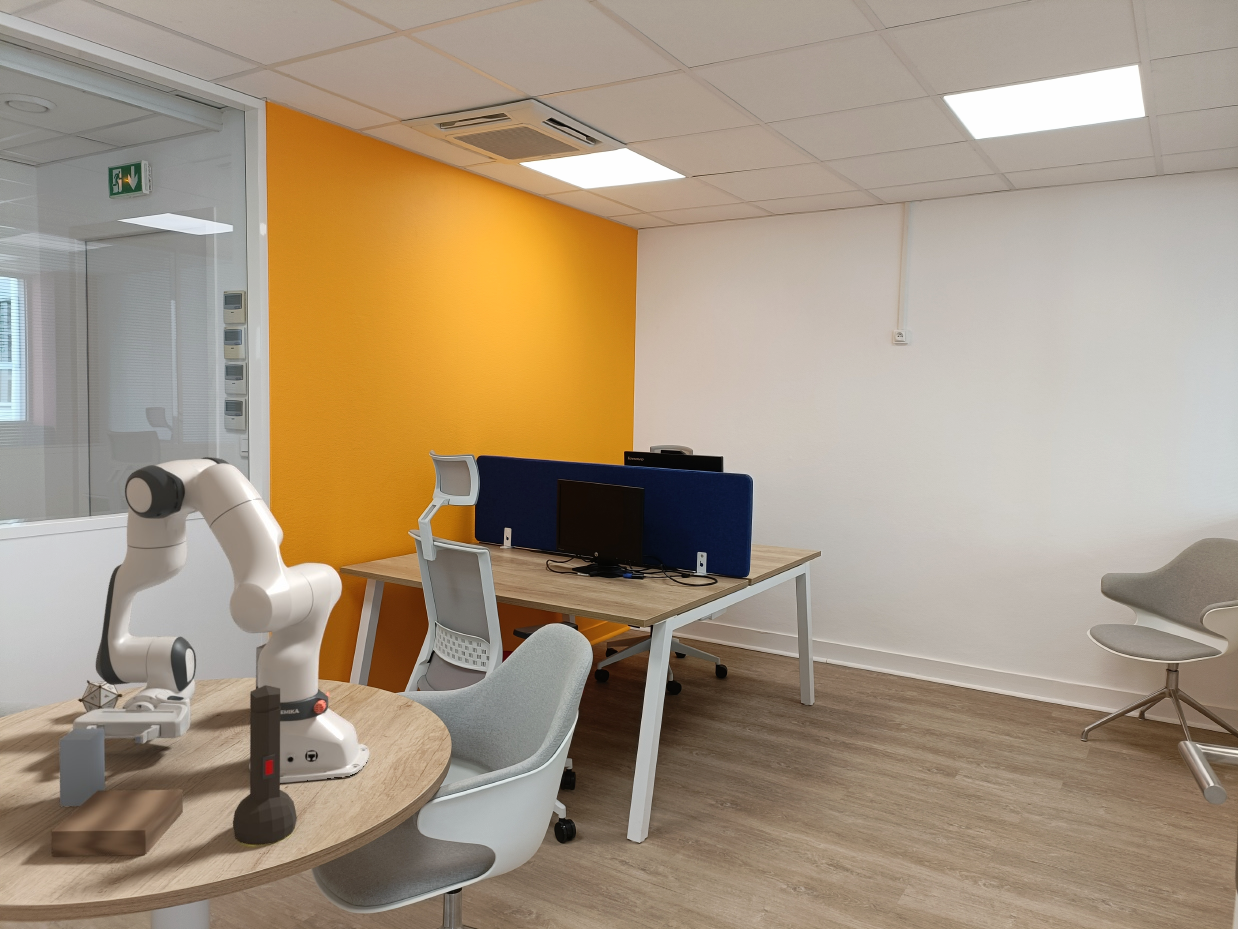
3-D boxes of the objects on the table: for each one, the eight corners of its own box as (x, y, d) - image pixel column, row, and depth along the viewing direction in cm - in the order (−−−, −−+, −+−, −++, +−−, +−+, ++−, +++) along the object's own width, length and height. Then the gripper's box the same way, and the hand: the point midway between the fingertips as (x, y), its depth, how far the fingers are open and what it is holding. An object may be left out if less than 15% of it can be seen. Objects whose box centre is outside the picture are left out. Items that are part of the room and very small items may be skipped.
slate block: (104, 793, 154) (104, 728, 154) (90, 806, 149) (89, 739, 149) (75, 793, 154) (74, 728, 153) (60, 806, 149) (59, 739, 148)
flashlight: (226, 826, 144) (240, 853, 136) (226, 681, 142) (240, 699, 134) (287, 811, 150) (304, 836, 142) (288, 672, 148) (305, 688, 140)
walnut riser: (182, 812, 148) (182, 789, 148) (145, 854, 135) (145, 830, 134) (98, 813, 147) (97, 790, 147) (51, 856, 133) (51, 831, 133)
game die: (105, 733, 190) (103, 707, 184) (69, 719, 190) (66, 692, 184) (132, 702, 197) (131, 676, 191) (97, 688, 197) (96, 662, 191)
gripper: (93, 698, 174) (54, 723, 161) (197, 698, 176) (168, 723, 163) (93, 728, 175) (55, 756, 161) (197, 728, 177) (168, 755, 163)
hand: (113, 739), depth 162 cm, fingers open, 8 cm apart
